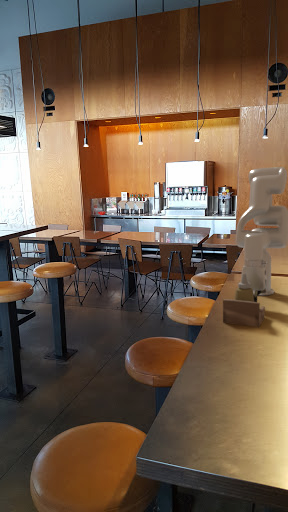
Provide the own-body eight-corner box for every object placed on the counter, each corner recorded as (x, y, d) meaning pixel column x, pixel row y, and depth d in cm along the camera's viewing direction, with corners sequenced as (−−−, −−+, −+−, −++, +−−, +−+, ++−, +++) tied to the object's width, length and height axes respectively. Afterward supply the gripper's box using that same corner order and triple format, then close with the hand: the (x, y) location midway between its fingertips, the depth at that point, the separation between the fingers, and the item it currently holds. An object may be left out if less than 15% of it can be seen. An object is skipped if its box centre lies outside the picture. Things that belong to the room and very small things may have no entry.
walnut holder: (231, 313, 150) (231, 292, 149) (264, 317, 144) (264, 295, 142) (223, 322, 141) (222, 299, 139) (258, 327, 134) (258, 303, 133)
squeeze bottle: (254, 322, 139) (255, 276, 136) (232, 321, 141) (232, 276, 138) (255, 315, 146) (255, 272, 143) (234, 314, 149) (234, 271, 146)
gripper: (273, 262, 152) (273, 304, 156) (238, 260, 160) (238, 300, 163) (270, 265, 146) (269, 309, 149) (233, 263, 153) (233, 305, 156)
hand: (253, 304), depth 156 cm, fingers closed
